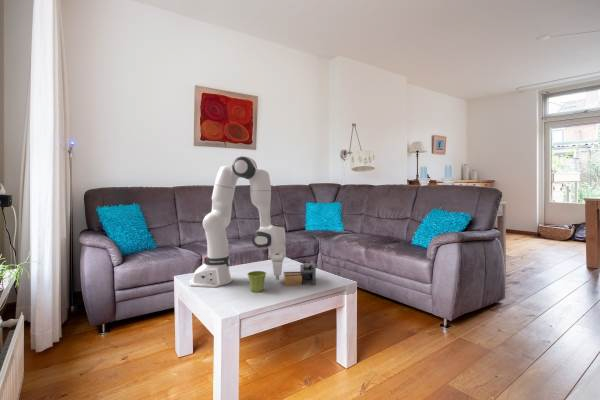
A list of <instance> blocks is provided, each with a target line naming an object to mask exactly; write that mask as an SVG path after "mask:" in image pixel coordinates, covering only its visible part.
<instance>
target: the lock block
mask: <svg viewBox="0 0 600 400" xmlns="http://www.w3.org/2000/svg"><path fill="white" fill-rule="evenodd" d="M302 280H303V279H302V274H301V273H300V271H283V284H284V286H296V285H297V286H298V285H300V286H301V285H303V281H302Z"/></svg>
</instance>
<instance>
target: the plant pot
mask: <svg viewBox="0 0 600 400" xmlns="http://www.w3.org/2000/svg"><path fill="white" fill-rule="evenodd" d="M266 275H267V272H266V271H261V270H253V271H250V272H248V273H247V276H248V281H249V287H250V292H253V293H260V292H263V290H264V286H265V279H266Z"/></svg>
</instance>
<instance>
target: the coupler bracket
mask: <svg viewBox="0 0 600 400" xmlns="http://www.w3.org/2000/svg"><path fill="white" fill-rule="evenodd" d="M299 270H300V273H301V274H302V280H310V281H311V284H312V286H316V285H317V283H316V279H317V275H316V274H317V267H316V264H315V261H314V260H310V262H305V263H303V264H300V269H299Z"/></svg>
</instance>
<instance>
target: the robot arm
mask: <svg viewBox="0 0 600 400" xmlns="http://www.w3.org/2000/svg"><path fill="white" fill-rule="evenodd" d="M257 167H258V166H257V163H256V161H255V160H254V159H253V158H251V157H249V156H242V155H241V156H238V157H236V158H235V159H233V162H232V165H222V166H220V168H219V169H218V172H217V174H216V177H215V180H214V185H213V190H212V193H211V211H210V212H209V213H207V214H206V215H205V216H204V218H203V220H202V227H203V229H204V234H205V238H206V244H207V246H206V247H207V248H206V249H207V251H206V253H207V255H204V258H203V264H201V265H200V266H199V267H198V268H197V269H195V271H194V273H193V277H192V278H191V279H190V280H189V281H188V286H189V287H202V288H203V287H204V288H205V287H206V288H207V287H208V288H218V287H221V286H223V285H227V284H229V283H231V282H232V281H233V278H232V276H231V272H230V255H229V240H228V236H227V232H226V228H227V227H228V226H230V223H231V221H232V220H231V219H232V209H233V201H234V196H235V191H236V186H237V182H238V180H239V179H240V178H241V179H245V180H248V181H249V188H250V189H249V191H250V193H249V194H250V200H251V204H252V205H253V206H254V207H256V209H257V210H258V214H259V228H258V229H257V230H256V231H254V232H253V233H252V235H251V237H250V238H251V243H252V245H253V247H255V248H258V249H264V248H267V247H268V249H269V250H268V252H269V253H268V254H269V255H268V257H269V258H270V260H271V262H272V263H271V264H272V271H273V275H274V277H275V280H276V281H277V280H280V276H281V275H282V271H283V269H282V268H283V261H284V260H285V258H286V254H287V253H286V249H287V247H286V239H287V238H286V229H285V226H284V225H282V224H280V223H273V222H272V216H271V215H272V213H271V200H272V199H271V198H272V197H271V196H272V186H271V178H270V174H269V172H268V171H266V170H264V169H260V168H259V169H258V168H257Z"/></svg>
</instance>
